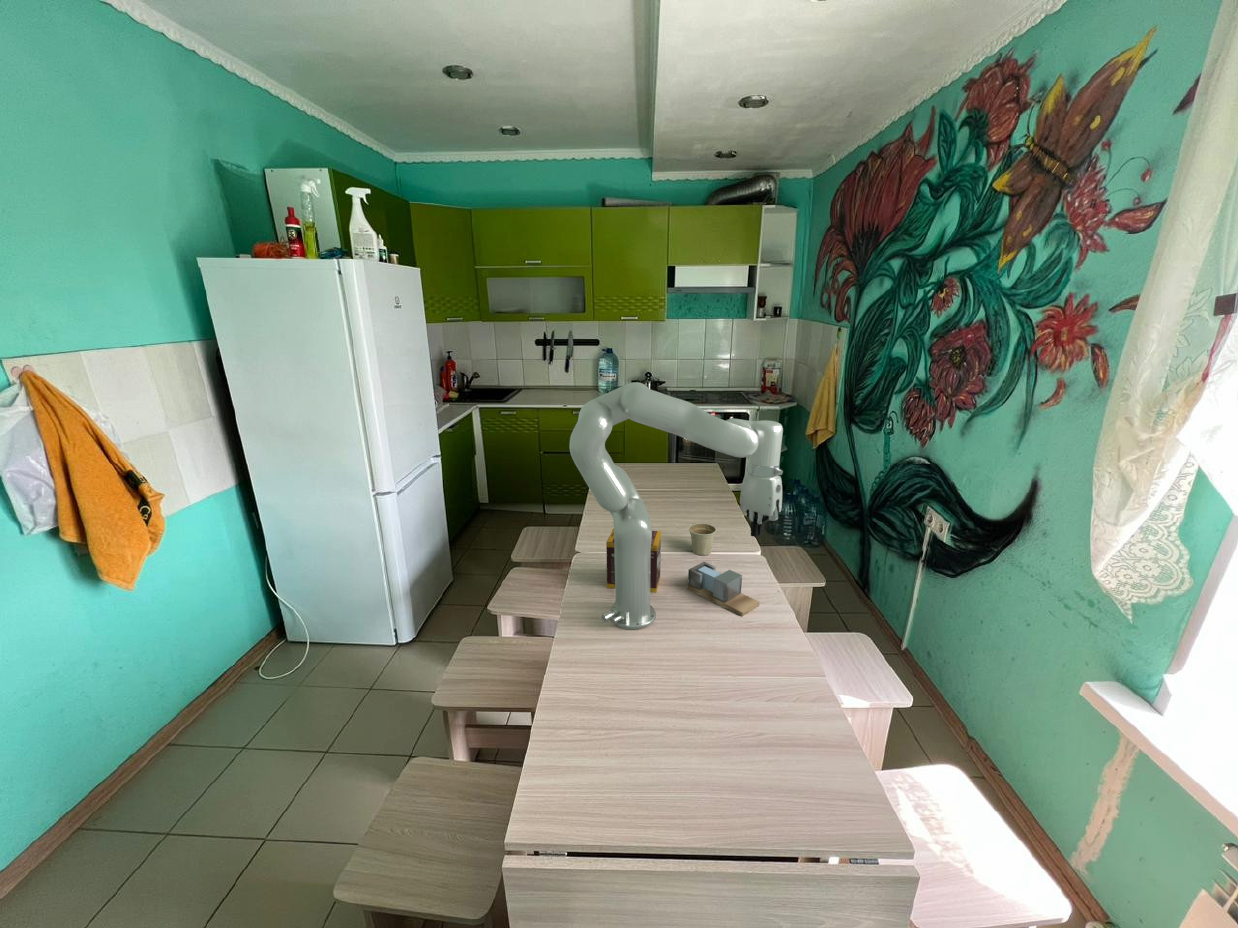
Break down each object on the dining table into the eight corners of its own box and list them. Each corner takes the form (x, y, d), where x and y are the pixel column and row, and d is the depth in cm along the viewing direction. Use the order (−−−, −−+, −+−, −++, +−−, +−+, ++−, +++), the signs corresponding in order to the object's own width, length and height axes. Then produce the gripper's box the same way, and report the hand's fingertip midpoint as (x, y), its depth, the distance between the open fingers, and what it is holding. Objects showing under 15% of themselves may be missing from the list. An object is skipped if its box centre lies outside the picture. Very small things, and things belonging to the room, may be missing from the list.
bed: (759, 605, 147) (760, 586, 145) (742, 616, 142) (743, 596, 140) (704, 579, 162) (704, 561, 160) (687, 588, 156) (687, 569, 155)
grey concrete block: (740, 592, 151) (742, 575, 149) (725, 602, 146) (726, 584, 145) (728, 586, 154) (729, 569, 152) (713, 595, 150) (713, 578, 148)
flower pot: (683, 554, 178) (684, 531, 175) (693, 543, 185) (694, 521, 183) (710, 560, 173) (711, 536, 171) (718, 548, 181) (720, 526, 179)
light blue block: (730, 593, 151) (731, 578, 150) (724, 597, 149) (725, 582, 148) (704, 580, 158) (704, 566, 157) (697, 584, 156) (697, 569, 155)
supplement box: (657, 593, 154) (657, 545, 149) (606, 588, 157) (605, 541, 152) (661, 576, 164) (662, 530, 159) (613, 571, 167) (613, 527, 162)
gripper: (797, 473, 129) (789, 540, 135) (747, 460, 140) (741, 523, 145) (781, 480, 124) (773, 549, 130) (730, 465, 135) (724, 530, 140)
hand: (756, 535), depth 137 cm, fingers closed
